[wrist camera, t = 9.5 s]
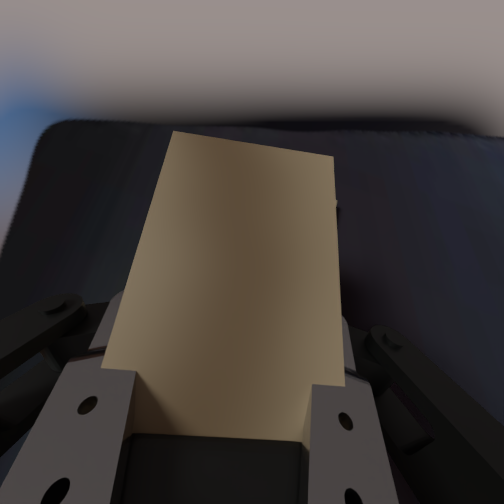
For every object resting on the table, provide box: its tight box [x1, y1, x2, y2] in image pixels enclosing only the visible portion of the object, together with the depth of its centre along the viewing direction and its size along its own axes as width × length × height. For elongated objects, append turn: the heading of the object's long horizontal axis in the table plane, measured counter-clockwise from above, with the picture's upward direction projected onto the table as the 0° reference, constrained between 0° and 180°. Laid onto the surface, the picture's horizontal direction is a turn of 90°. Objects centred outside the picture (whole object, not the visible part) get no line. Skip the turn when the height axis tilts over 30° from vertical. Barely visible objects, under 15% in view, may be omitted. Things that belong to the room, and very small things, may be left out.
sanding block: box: [101, 131, 345, 442], centre depth 9 cm, size 5×9×10 cm, turn 174°
